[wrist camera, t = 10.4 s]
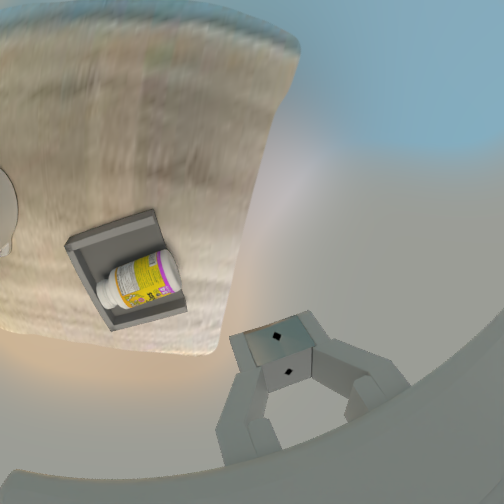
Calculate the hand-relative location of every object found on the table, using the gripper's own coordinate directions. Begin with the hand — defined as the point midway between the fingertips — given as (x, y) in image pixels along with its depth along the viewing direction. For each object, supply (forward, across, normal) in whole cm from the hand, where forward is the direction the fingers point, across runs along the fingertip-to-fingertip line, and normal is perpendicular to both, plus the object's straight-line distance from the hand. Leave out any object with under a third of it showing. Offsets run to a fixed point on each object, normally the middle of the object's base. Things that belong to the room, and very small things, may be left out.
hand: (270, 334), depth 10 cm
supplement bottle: (+29, +6, +14) cm, 33 cm away
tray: (+33, +15, +14) cm, 39 cm away
